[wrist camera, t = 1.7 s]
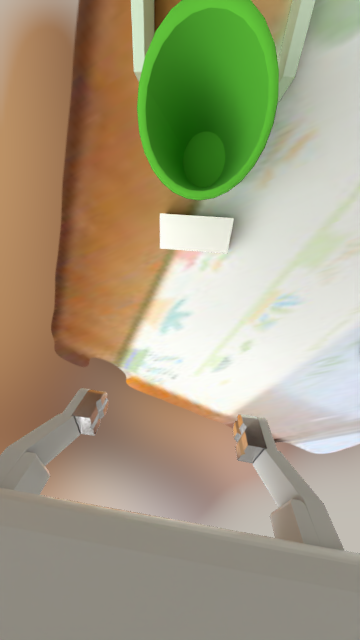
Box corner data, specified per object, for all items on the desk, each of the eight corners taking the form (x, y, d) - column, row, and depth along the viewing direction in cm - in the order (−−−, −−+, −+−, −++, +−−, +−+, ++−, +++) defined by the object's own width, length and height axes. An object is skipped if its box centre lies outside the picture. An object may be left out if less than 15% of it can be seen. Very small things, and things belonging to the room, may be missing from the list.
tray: (325, -83, 13) (363, -178, 10) (279, 101, 17) (294, 77, 14) (141, -79, 13) (124, -164, 10) (145, 95, 18) (133, 71, 15)
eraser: (230, 218, 23) (234, 218, 20) (224, 249, 25) (227, 253, 22) (165, 214, 24) (159, 213, 21) (165, 244, 26) (160, 248, 23)
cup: (220, 219, 23) (231, 218, 14) (157, 190, 22) (124, 169, 13) (259, 129, 18) (318, 34, 9) (182, 89, 18) (157, -61, 8)
